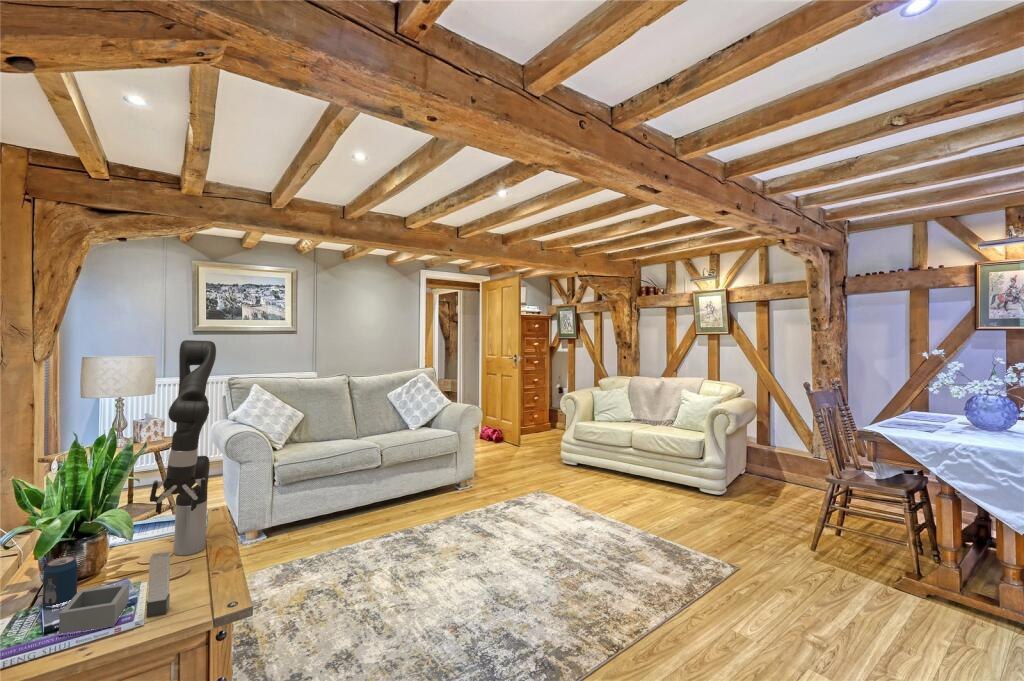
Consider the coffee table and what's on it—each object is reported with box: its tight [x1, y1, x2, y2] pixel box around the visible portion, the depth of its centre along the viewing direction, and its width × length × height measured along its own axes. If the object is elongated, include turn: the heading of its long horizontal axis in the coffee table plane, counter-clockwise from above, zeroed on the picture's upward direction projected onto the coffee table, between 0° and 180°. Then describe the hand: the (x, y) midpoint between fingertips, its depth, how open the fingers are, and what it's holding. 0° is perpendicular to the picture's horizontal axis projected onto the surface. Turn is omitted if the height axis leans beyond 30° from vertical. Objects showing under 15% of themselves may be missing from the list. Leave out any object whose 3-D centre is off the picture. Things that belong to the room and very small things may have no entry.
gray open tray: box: [58, 583, 130, 635], centre depth 122 cm, size 11×11×6 cm
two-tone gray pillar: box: [145, 551, 171, 619], centre depth 126 cm, size 3×4×16 cm
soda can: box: [41, 555, 79, 607], centre depth 129 cm, size 7×7×12 cm
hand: (175, 511), depth 147 cm, fingers open, 8 cm apart
